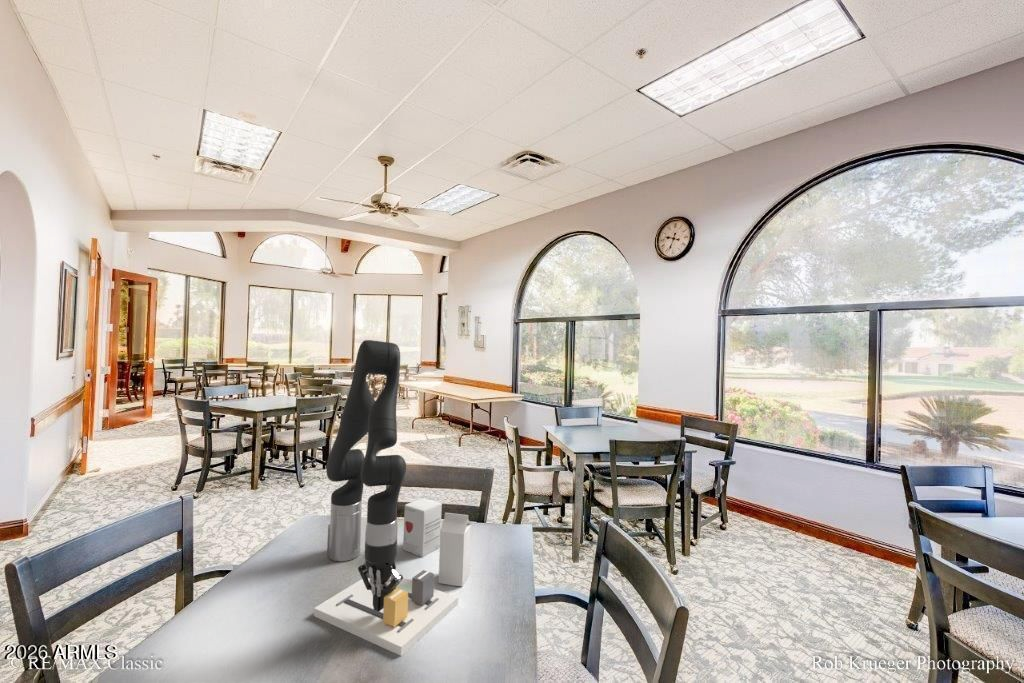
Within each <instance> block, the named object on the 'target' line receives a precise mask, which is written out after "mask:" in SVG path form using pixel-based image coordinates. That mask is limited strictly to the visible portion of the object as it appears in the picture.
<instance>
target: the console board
mask: <svg viewBox="0 0 1024 683" xmlns="http://www.w3.org/2000/svg"><path fill="white" fill-rule="evenodd" d="M390 579H391V577H390ZM368 580H369V583H370V578H368ZM389 584H390V582H389ZM389 584H388V585H389ZM396 588H399V589H401V590H404V591H407V592H408V612H407V617H406V618H405V619H404V620H403V621H402V622H400V623H399V624H398V625H397V626H395V627H393V626H390V625H388V624H386V623H383V609H384V608H383V609H382V610H380V611H376V610H374V609H373V608H374V607H373V594H372V591H371V590H367V588H366V586H365V584H364V582H363V579H362V578H360V579H359V580H357V581H356V582H355V583H353V584H351V585H349V586H348V587H346V588H344V589H343V590H342V591H340V592H338V593H337V594H335V595H333V596H331V597H330V598H329V599H327V600H325V601H323V602H322V603H320V604H318V605H316V606H315V607H314V608H313V617H315V618H318V619H319V620H322V621H324V622H326V623H327V624H330V625H333V626H335V627H337V628H339V629H340V630H343V631H345V632H348V633H350V634H352V635H354V636H357V637H359V638H361V639H363V640H365V641H368V642H370V643H372V644H374V645H376V646H379V647H380V648H382V649H385V650H386V651H389V652H391V653H393V654H396V655H398V656H400V657H402V656H403V655H404V654H405V653H406V652H407V651H409V650H410V649H411V648H412V647H414V646H415V645H416V644H417V642H419V641H420V640H421V639H422V638H423V637H424V636H425V635H427V633H428V632H430V631H431V630H432V629H433V628H434V627H435V626H436V625H437V624H439V623H440V621H442V620H443V619H444V618H445V617H446V616H447V615H449V613H450V612H452V611H453V610H454V609H455V608H456V607H457V606H458V605H459V597H458V596H455V595H453V594H450V593H449V592H448V593H447V592H444V591H442V590H438V589H437V588H434V592H433V597H432V598H431V599H430V600H428V601H427V602H426V603H425V604H423V605H420V604H417V603H415V602H412V579H408V578H405V577H403V579H402V581H401V582H400V583H399V584H398V585H397V587H396ZM396 588H395V589H396ZM382 589H383V588H382ZM395 589H394V590H395Z"/></svg>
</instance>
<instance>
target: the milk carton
mask: <svg viewBox="0 0 1024 683" xmlns="http://www.w3.org/2000/svg"><path fill="white" fill-rule="evenodd" d="M471 540H472V523H471V522H470V520H469V515H468V514H460V513H453V512H444V518H443V521H442V523H441V531H440V547H439V560H438V562H439V565H438V584H441V585H448V586H449V585H450V586H453V587H454V586H456V587H464V584H465V583H466V581H467V579H468V577H469V576H470V572H471V571H470V569H471V568H470V567H471V543H472V541H471Z"/></svg>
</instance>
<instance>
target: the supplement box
mask: <svg viewBox="0 0 1024 683" xmlns="http://www.w3.org/2000/svg"><path fill="white" fill-rule="evenodd" d="M442 506H443V504H442V502H438V501H435V500H432V499H429V498H424V497H421V498H419V499H416V500H413V501H411V502H408V503H406V504H405V505H404V514H403V515H404V516H403V518H404V519H403V520H404V521H403V542H402V544H403V545H402V550H403V551H406V552H407V553H410V554H411V553H412V554H413V555H416V556H418V557H421V558H424V557H425V556H427V555H428V554H431V553H432V552H434V551H435V550H437V549H440V531H441V527H442V512H443V511H442V508H443V507H442Z"/></svg>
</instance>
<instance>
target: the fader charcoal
mask: <svg viewBox="0 0 1024 683" xmlns="http://www.w3.org/2000/svg"><path fill="white" fill-rule="evenodd" d="M411 581H412V602H415V603H417V604H420V605H423V604H425V603H426V602H427V601H428V600H430V599H431V598H432V597H433V592H434V589H435V588H434V586H435V584H434V583H435V573H433V572H430V571H428V570H424V569H423V570H421V571H420V572H418V573H417V574H415V575H414V576H412V579H411Z"/></svg>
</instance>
